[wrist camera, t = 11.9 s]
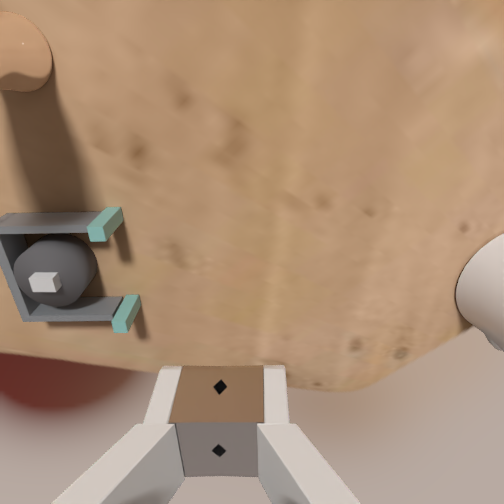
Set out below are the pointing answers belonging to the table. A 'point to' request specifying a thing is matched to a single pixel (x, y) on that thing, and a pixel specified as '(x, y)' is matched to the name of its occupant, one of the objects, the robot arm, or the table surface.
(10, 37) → the beer glass
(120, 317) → the cable holder
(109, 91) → the table surface
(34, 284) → the dark grey rounded dome
